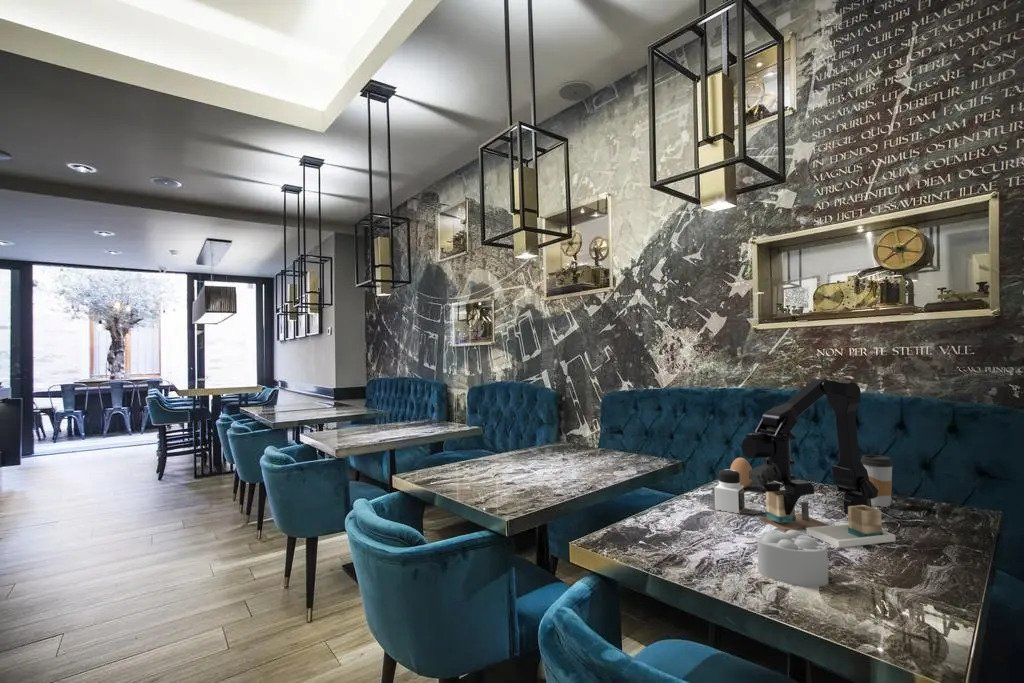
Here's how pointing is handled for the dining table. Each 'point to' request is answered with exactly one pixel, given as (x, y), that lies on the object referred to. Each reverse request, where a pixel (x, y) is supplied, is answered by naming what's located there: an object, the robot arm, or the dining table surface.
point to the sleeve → (864, 521)
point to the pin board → (800, 523)
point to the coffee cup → (879, 477)
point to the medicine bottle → (729, 492)
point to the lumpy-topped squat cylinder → (792, 558)
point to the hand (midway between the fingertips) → (780, 511)
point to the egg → (742, 470)
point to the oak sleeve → (778, 508)
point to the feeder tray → (846, 536)
